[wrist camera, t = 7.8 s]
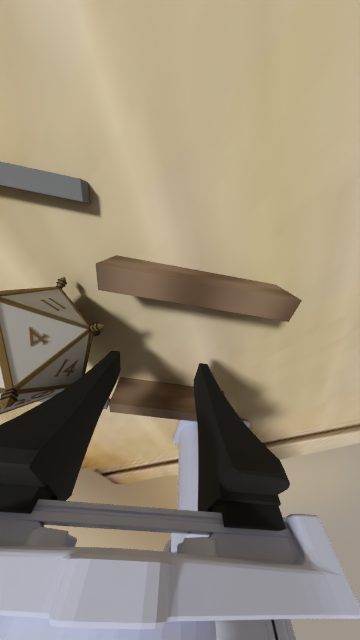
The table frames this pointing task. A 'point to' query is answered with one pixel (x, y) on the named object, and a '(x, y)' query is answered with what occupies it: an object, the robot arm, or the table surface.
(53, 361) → the game die
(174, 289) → the walnut chute
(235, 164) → the table surface
